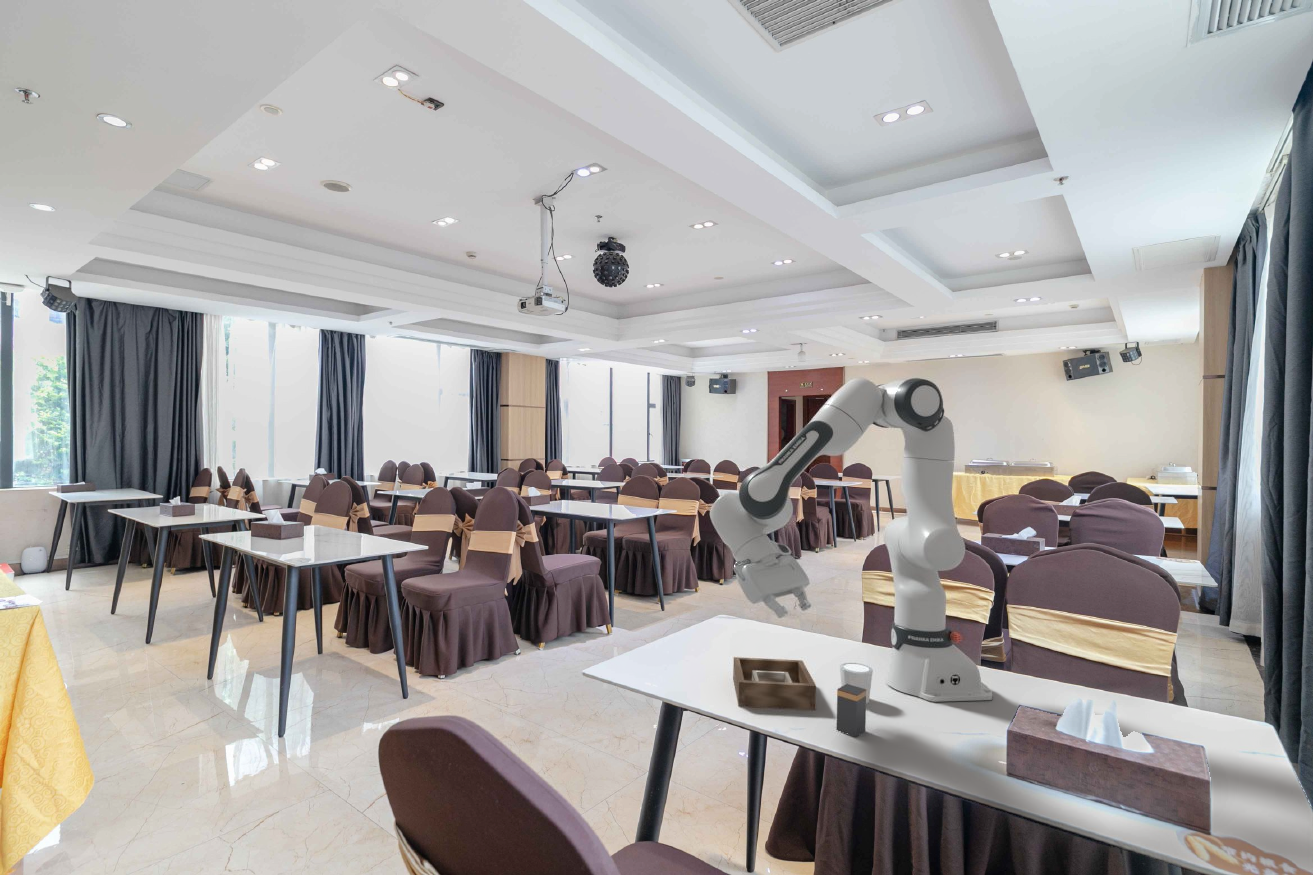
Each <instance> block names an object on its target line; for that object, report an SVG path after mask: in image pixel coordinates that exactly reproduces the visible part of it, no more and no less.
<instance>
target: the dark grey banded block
mask: <svg viewBox="0 0 1313 875" xmlns="http://www.w3.org/2000/svg"><path fill="white" fill-rule="evenodd" d="M836 697H837V698H836V699H837V700H836V702H837V703H836V730H838V731H837V732H839V731H841V732H840V733H842V732H844V733H843V734H845V733H848V734H850V735H852V736H851V737H853V736H856V737H855V738H857V737H859V736H860V735H862V734H863V733H864V732H866V722H867V721H866V719H867V718H866V717H867V716H866V713H867V704H866V689H863V688H860V687H856V686H853V685H849V684H846V685H844V686H842V687H841V686H840V687H838V688H837V694H836ZM861 733H862V734H861ZM848 734H847V735H848ZM859 734H860V735H859ZM850 735H849V736H850Z"/></svg>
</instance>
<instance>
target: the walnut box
mask: <svg viewBox="0 0 1313 875" xmlns="http://www.w3.org/2000/svg"><path fill="white" fill-rule="evenodd" d="M732 666H733V668H732V670H733V672H732V673H733V674H732V681H733V686H734V689H735V690H734V691H735V696H736V700H737V706H738V707H749V708H750V707H752V708H765V709H766V708H767V709H787V710H788V709H789V710H806V711H809V710H810V711H816V709H817V708H816V706H817V704H816V703H817V684H816V683H815V681H814V680H813V677H812V676H811V674H810V672H809V670H808V668H807V666H806V665H805V663H804V661H803V659H802V660H799V659H797V660H796V659H779V658H761V657H760V658H757V657H756V658H755V657H740V656H739V657H738V656H737V657H735V656H733V665H732Z"/></svg>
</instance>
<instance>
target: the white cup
mask: <svg viewBox="0 0 1313 875" xmlns="http://www.w3.org/2000/svg"><path fill="white" fill-rule="evenodd" d="M839 670H840V672H839V673H840V676H839V677H840V687H842V686H844V685H846V684H849V685H853V686H856V687H860V688H863V689H866V705H867V704H869V702H870V697H871V689H872V680H873V679H872V678H873V669H872V667H870V666H869V665H867V664H863V663H857V662H844V663H840V665H839Z"/></svg>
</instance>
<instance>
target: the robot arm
mask: <svg viewBox="0 0 1313 875" xmlns="http://www.w3.org/2000/svg"><path fill="white" fill-rule="evenodd" d="M871 425H874V426H876V427H878V428H884V429H885V428H886V429H887V428H893V429H900V430H901V431H902V433H903V434H902V435H903V437H904V447H903V448H904V449H903V455H902V456H903V458H902V465H901V466H902V468H901V469H902V470H901V482H900V492H901V495H902V496H903V499H904V503H905V510H906V515H905V516H899V517H896V518H894V519H892V520H891V521H889V522H888V523H887V524H886V526H885V528H884V530H883V542H884V544H885V547H886V549H887V552H888V555H889V560H890V567H891V574H892V578H893V585H894V614H893V615H894V621H892V622H891V624H892V625H891V636H890V637H891V639H890V640H891V646H892V652H891V655H890V656H891V657H890V661H889V662H890V663H889V667H888V671H887V675H886V678H885V683H886V685H888V686H889V687H891V688H892V689H895V690H897V691H899V692H902V693H905V694H908V695H912V696H916V697H918V698H920V699H923V700H926V701H929V702H935V703H938V702H968V701H973V702H975V701H991V700H993V692H992V690H991V688H989V686H987V685H986V684H985V683H983V682H982V680H981V679H982V678H981V673H980V669H979V668H978V666H977V664H976V663H975V662H974V661H973V660H972V659H971V658H970V657H969V656H968V655H966V653H964V652H963V651H962V650H961V649H959V648H958V647H957V646H956V645H955V644H954V642H955V643H957V644H958V643H961V642H962V641H963V636H962V635H961V634H960V633H958V632H957V631H953V630H951V629H950V628H948V627H947V626H946V619H947V616H946V615H947V614H946V611H947V595H946V594H947V593H946V591H945V589H944V587H943V585H942V582H941V579H940V576H939V572H942V571H945V572H946V571H951V570H953V569H955V568H957V567H958V566H959V565H960V564H961V563H962V561H963V560H964V558H965V555H966V545H965V541H964V538H963V537H962V536H961V533H960V532H959V529H958V526H957V520H956V516H955V510H954V502H953V501H954V500H953V482H954V480H953V479H954V467H955V453H956V452H955V449H956V447H955V435H954V434H955V433H954V426H953V423H952V421H951V419H949V418H948V416H946V415H945V408H944V401H943V396H942V392H941V391H940V388H939V387H938V386H937V384H935V383H934V382H933V381H932V380H931V381H930V380H928V379H924V378H919V377H914V378H913V377H912V378H909V379H908V378H907V379H906V378H905V379H897V380H896V379H895V380H893V381H890V382H886V383H882V384H879V385H876V384H875V383H874V382H873V381H871V380H869V379H866V378H863V377H855V378H852V379H850V380H848V381H847V382H846V383H845V384H844V385H842V386H840V388H839V389H838V390H836V391H835V392H834V393H833V394H832V395H831V397H829V398H828V399H827V401H825V402H824V404H823V405H822V406H821V407H820V408H819V410H818V411H817V412H816V414H815V415H814V416H813V417H812V418H811V420H810V421H809V422H808V423H807V424H805V426H804V427H803V428H802V429H801V430H799V432H798V433H797V434H795V436H794V437H793V438H792V439H791V440H789V442H788V443H787V444H786V445H785V446H784V447H782V449H781V450H780V451H779V452H778V453H777V454H776V456H774V458H772V459H771V460H770V461H769V462H768V463H767V464H766V465H763V466H762V467H760V468H757V469H756V470H754V471H753V472H751V473H750V474H748V475H747V476H746V477H745V478H744V479H743V480H742V482H741V484H740V487H739V491H738V492H731V491H728V492H725V493H722V494H721V495H720V496H719V497H718V498H716V499H715V500H714V502H713V503H712V505H711V507H710V510H709V517H710V520H711V524H712V525H713V527H714V529H715V531H716V533H717V534H718V536H719V537H720V539H721V540H722V542H723V544H724V545H726V546H727V547H728V548H729V549H730V551H731V554H732V557H733V558H734V560H735V562H734V565H733V571H734V573H735V574H736V577H735V578H736V580H737V583H738V584H739V587H740V588H741V590H742V592H743V594H744V595H745V596H744V597H746V599H747V600H748V601H749V602H750V603H751V604H753V605H754V604H758V603H762V602H763V603H764V605H765V607H767V608H768V609H770V610H771V611H772V612H774V613H775V615H776V617H777V618H778V619H782V618H785V617H786V616H787V615H788V613H789V612H788V610H787V608H786V607H785V606H784V605H781V604H780V603H779V602H778V601H777V600H776V599H777V598H782V597H785V596H789V595H793V596H794V597H795V598H797V600H798V602H799V603H798V607H799V608H800V609H801V611H802V612H804V611H808V610H809V609H810V608H812V604H811V603H810V601H809V600H808V598H807V597H808V596H807V593H806V590H805V589H806V588H807V587H808V586H809V585H810V579H809V577H808V574H807V573H806V572H805V569H804V568H803V567H802V565H800V563H799V561H798V560H797V559H796V558H795V557H794V556H792V555H791V554H792V550H791V549H790V547H788V545H786V544H781V543H779V542H776V541H774V540H771V539H770V538H769V536H768V535H770V534H772V533H774V532H776V531H778V530H780V529H782V528H783V527H785V526H787V525H788V524H789V523H790V521H791V519H792V518H793V515H794V505H793V502H792V499H791V497H790V495H789V493H790V490H791V487H792V485H793V483H794V482H795V481H796V479H798V478H799V477H800V475H801V474H802V473H803V472H804V471H805V470H806V469H807V468H808V467H809V465H810V464H811V463H812V462H814V460H815V459H817V458H818V457H820V456H824V455H825V456H829V457H835V456H836V457H837V456H841V455H844V454H845V453H846V452H847V451H849V450H850V449H851V448H853V446H854V445H855V444H856V443H857V442H858V441H859V439H861V437H862V436H863V435H865V434H864V433H865V432H866V431H867V430H868V428H869V427H870V426H871ZM938 571H939V572H938Z"/></svg>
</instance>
